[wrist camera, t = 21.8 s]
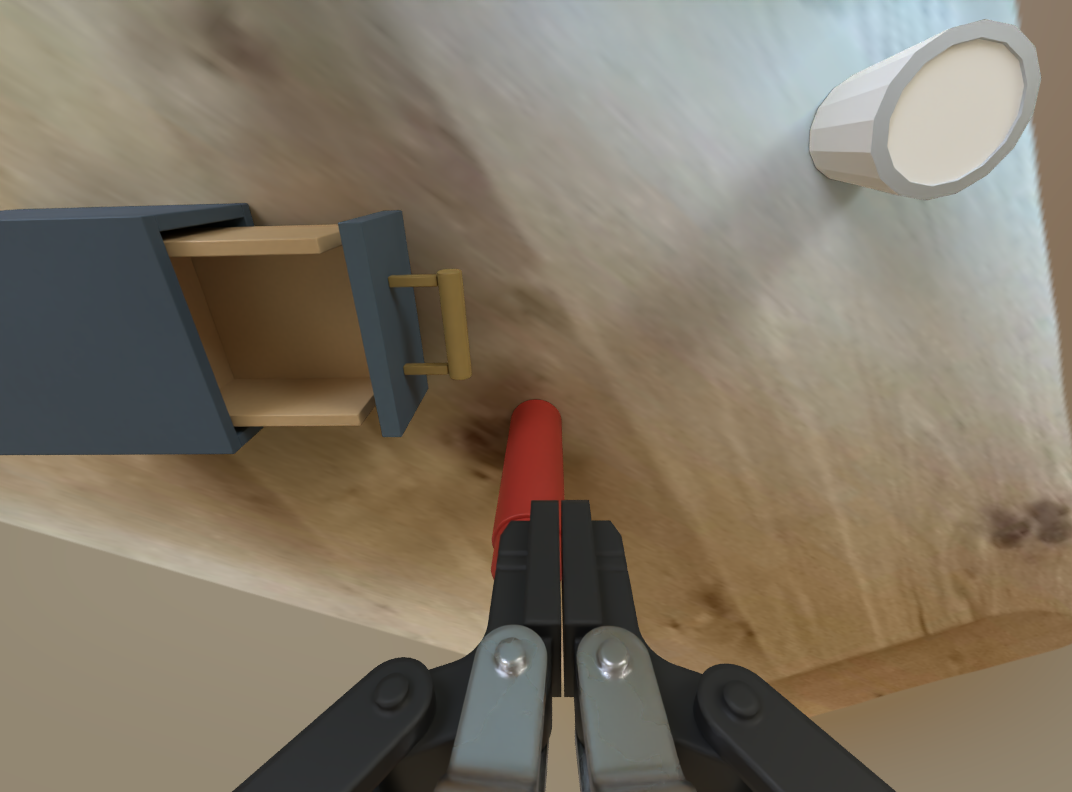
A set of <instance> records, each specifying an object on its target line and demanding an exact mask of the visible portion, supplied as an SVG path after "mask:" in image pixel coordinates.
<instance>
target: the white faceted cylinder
mask: <svg viewBox="0 0 1072 792" xmlns="http://www.w3.org/2000/svg"><path fill="white" fill-rule="evenodd" d="M1040 81H1041V74H1040V69H1039V64H1038V58H1037V53H1036V48H1035V46H1034V45H1033V44H1032V43H1031V42H1030V41H1029V40H1028V38H1027V37H1026V36H1025V35H1024V34H1023V33H1022V32H1021V31H1020V30H1019V29H1018V28H1017V27H1016V26H1015V25H1010V24H1006V23H1001V22H996V21H992V20H987V19H984V20H980V21H976V22H972V23H969V24H965V25H961V26H957V27H954V28H950V29H948V30H946V31H944V32H941V33H939V34H937V35H935V36H933V37H931V38H929V39H927V40H925V41H923V42H921V43H918V44H916V45H914V46H912V47H910V48H908V49H906V50H904V51H902V52H900V53H898V54H895V55H893V56H891V57H889V58H887V59H885V60H883V61H881V62H879V63H877V64H875V65H872V66H870V67H868V68H866V69H864V70H862V71H860V72H858V73H856V74H854V75H852V76H851V77H849V78H848V79H846V80H845V81H844V82H842V83H841V84H839V85H838V86H836V87H835V88H834V89H833V90H832V91H831V92H830V94H829V95H828V96H827V98H826V99H825V100H824V101H823V103H822V104H821V105H820V107H819V108H818V110H817V113H816V115H815V118H814V121H813V123H812V126H811V129H810V143H809V151H810V154H811V157H812V159H813V162H814V164H815V167H816V168H817V169H818V170H819V171H821V172H822V173H823V174H824V175H825V176H827V177H828V178H829V179H833V180H837V181H842V182H846V183H850V184H854V185H858V186H862V187H867V188H871V189H875V190H879V191H883V192H887V193H891V194H896V195H900V196H905V197H910V198H916V199H921V200H930V199H934V198H938V197H943V196H947V195H952V194H956V193H958V192H959V191H961V190H963V189H965V188H966V187H968V186H970V185H971V184H973V183H975V182H976V181H978V180H980V179H982V178H983V177H985V176H987V175H988V174H989V173H990V172H991V171H992V170H993V169H994V168H995V167H996V166H997V165H998V164H999V162H1000V161H1001V160H1002V159H1003V158H1004V157H1005V156H1006V155H1007V154H1008V153H1009V152H1010V151H1011V150H1012V149H1013V148H1014V147H1015V145H1016V143H1017V142H1018V140H1019V138H1020V136H1021V135H1022V133H1023V131H1024V129H1025V128H1026V126H1027V124H1028V122H1029V121H1030V119H1031V117H1032V115H1033V113H1034V109H1035V104H1036V100H1037V95H1038V90H1039V86H1040Z"/></svg>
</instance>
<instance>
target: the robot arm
mask: <svg viewBox="0 0 1072 792" xmlns="http://www.w3.org/2000/svg"><path fill="white" fill-rule="evenodd" d="M561 571H562V614H563V657H564V697H574V706H575V745H576V755H577V764H578V774H579V783H580V791H581V792H896V791H895V790H894V789H892V788H891V787H890V786H889V785H888V784H886V783H885V782H884V781H883V780H882V779H880V778H879V777H878V776H877V775H876V774H875V773H873V772H872V771H871V770H870V769H869V768H867V767H866V766H865V765H864V764H863V763H862V762H860V761H859V760H858V759H857V758H856V757H854V756H853V755H852V754H851V753H850V752H848V751H847V750H846V749H845V748H844V747H842V746H841V745H840V744H839V743H838V742H837V741H835V740H834V739H833V738H832V737H831V736H829V735H828V734H827V733H826V732H825V731H824V730H822V729H821V728H820V727H819V726H817V725H816V724H815V723H814V722H813V721H812V720H810V719H809V718H808V717H807V716H806V715H805V714H803V713H802V712H801V711H800V710H799V709H797V708H796V707H795V706H794V705H793V704H791V703H790V702H789V701H788V700H787V699H786V698H784V697H783V696H782V695H781V694H780V693H778V692H777V691H776V690H775V689H774V688H772V687H771V686H770V685H769V684H768V683H767V682H765V681H764V680H763V679H762V678H760V677H759V676H758V675H756V674H755V673H753V672H752V671H750V670H748V669H746V668H744V667H741V666H738V665H734V664H718V665H714V666H712V667H710V668H708V669H707V670H706V671H705V672H704V673H703V674H701V673H698V672H695V671H692V670H689V669H686V668H683V667H680V666H677V665H674V664H672V663H670V662H668V661H666V660H664V659H662V658H661V657H660V656H658V655H657V654H656V653H655V652H654V651H652V650H651V649H650V647H649V646H648V645H647V644H646V642H645V641H644V639H643V638H642V635H641V633H640V631H639V627H638V622H637V617H636V611H635V606H634V601H633V595H632V590H631V585H630V579H629V574H628V571H627V563H626V558H625V554H624V547H623V542H622V537H621V535H620V533H619V532H618V530H617V529H616V528H615V526H614V525H613V524H612V522H611V521H591V512H590V504H589V500H561ZM552 697H561V592H560V541H559V500H531V509H530V521H513V520H511V521H510V522H509V524H508V525H507V527H506V528H505V529H504V531H503V532H502V534H501V535H500V542H499V549H498V556H497V563H496V571H495V578H494V585H493V592H492V599H491V606H490V613H489V620H488V626H487V630H486V633H485V635H484V637H483V639H482V641H481V642H480V643H479V645H478V646H477V647H476V648H475V649H474V650H473V651H472V652H471V653H469V654H468V655H467V656H465V657H463V658H462V659H460V660H457V661H454V662H452V663H449V664H446V665H443V666H439V667H436V668H433V669H430V670H428V669H427V668H426V666H425V665H424V664H422V663H421V662H420V661H418V660H416V659H412V658H405V657H401V658H395V659H391V660H388V661H386V662H384V663H382V664H380V665H378V666H377V667H376V668H374V669H373V670H372V671H370V672H369V673H368V674H367V675H366V676H365V677H364V678H362V679H361V680H360V681H359V682H358V683H357V684H356V685H354V686H353V687H352V688H351V689H350V690H349V691H348V692H346V693H345V694H344V695H343V696H342V697H341V698H340V699H338V700H337V701H336V702H335V703H334V704H333V705H332V706H330V707H329V708H328V709H327V710H326V711H325V712H323V713H322V714H321V715H320V716H319V717H318V718H317V719H315V720H314V721H313V722H312V723H311V724H310V725H308V726H307V727H306V728H305V729H304V730H303V731H301V732H300V733H299V734H298V735H297V736H296V737H295V738H293V740H291V741H290V742H289V743H288V744H287V745H286V746H284V747H283V748H282V749H281V750H280V751H278V752H277V753H276V754H275V755H274V756H273V757H272V758H270V759H269V760H268V761H267V762H266V763H265V764H264V765H262V766H261V767H260V768H259V769H258V770H257V771H255V772H254V773H253V774H252V775H251V776H250V777H249V778H247V779H246V780H245V781H244V782H243V783H242V784H240V785H239V786H238V787H237V788H236V789H235V790H234V791H232V792H545V788H546V776H547V762H548V748H549V737H550V734H551V730H552Z"/></svg>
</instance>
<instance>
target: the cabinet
mask: <svg viewBox="0 0 1072 792" xmlns="http://www.w3.org/2000/svg"><path fill="white" fill-rule="evenodd" d="M215 227H255V226H254V223H253V219H252V216H251V212H250V209H249V206H248V204H247V203H235V204H199V205H162V206H125V207H88V208H51V209H17V210H4V211H0V455H125V454H235V453H236V452H237V451H238V450H239V449H240V448H241V447H242V446H243V445H244V444H246V443H247V442H248V441H249V440H250V439H251V438H252V437H253V436H254V435H256V434H257V433H258V432H259V431H260V430H261V429H262V428H263V427H264V426H242V427H234V426H233V423H232V421H231V418H230V415H229V413H228V410H227V407H226V405H225V402H224V400H223V397H222V394H221V392H220V389H219V386H218V384H217V381H216V379H215V376H214V373H213V371H212V368H211V365H210V363H209V360H208V358H207V355H206V352H205V350H204V347H203V344H202V342H201V339H200V337H199V334H198V331H197V329H196V326H195V323H194V321H193V318H192V316H191V313H190V310H189V308H188V305H187V302H186V300H185V297H184V295H183V292H182V289H181V287H180V284H179V281H178V279H177V276H176V274H175V271H174V268H173V266H172V263H171V260H170V258H169V255H168V253H167V250H166V247H165V245H164V242H163V239H162V237H161V234H160V232H161V231H167V230H173V229H179V228H215Z"/></svg>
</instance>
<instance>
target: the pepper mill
mask: <svg viewBox="0 0 1072 792" xmlns="http://www.w3.org/2000/svg"><path fill="white" fill-rule="evenodd" d="M531 500H559V541H560V581H561V579H562V571H561V500H564V474H563V448H562V422H561V416H560V413H559V411H558V410H557V409H556V408H555V407H554V406H553V405H552V404H550V403H549V402H546V401H543V400H537V399H535V400H528V401H525V402H523V403H521V404H520V405H519V406H517V408H516V409H515V410H514V412H513V414H512V417H511V423H510V429H509V435H508V441H507V447H506V454H505V460H504V466H503V472H502V479H501V485H500V491H499V497H498V503H497V510H496V516H495V522H494V528H493V534H492V545H493V548H494V552H493V559H492V566H491V573H492V576H493V579H494V578H495V571H496V563H497V556H498V549H499V542H500V535H501V534H502V532H503V531H504V529H505V528H506V527H507V525H508V524H509V522H510V521H511V520H513V521H530V509H531Z"/></svg>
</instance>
